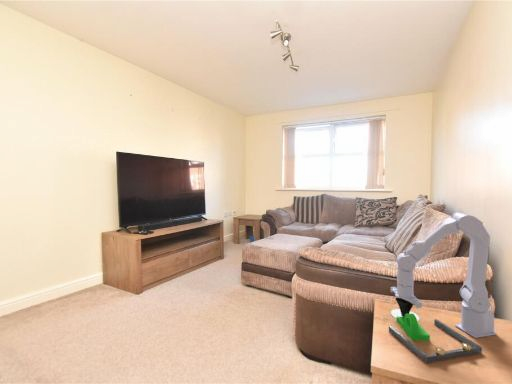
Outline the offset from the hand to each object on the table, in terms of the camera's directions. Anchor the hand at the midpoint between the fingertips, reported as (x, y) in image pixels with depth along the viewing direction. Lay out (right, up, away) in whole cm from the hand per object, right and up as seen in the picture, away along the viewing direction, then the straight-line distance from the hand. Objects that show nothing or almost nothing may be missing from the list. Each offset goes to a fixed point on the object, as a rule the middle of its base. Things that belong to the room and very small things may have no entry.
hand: (405, 316), depth 104 cm
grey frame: (+2, -2, -14) cm, 14 cm away
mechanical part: (-1, -2, -7) cm, 7 cm away
